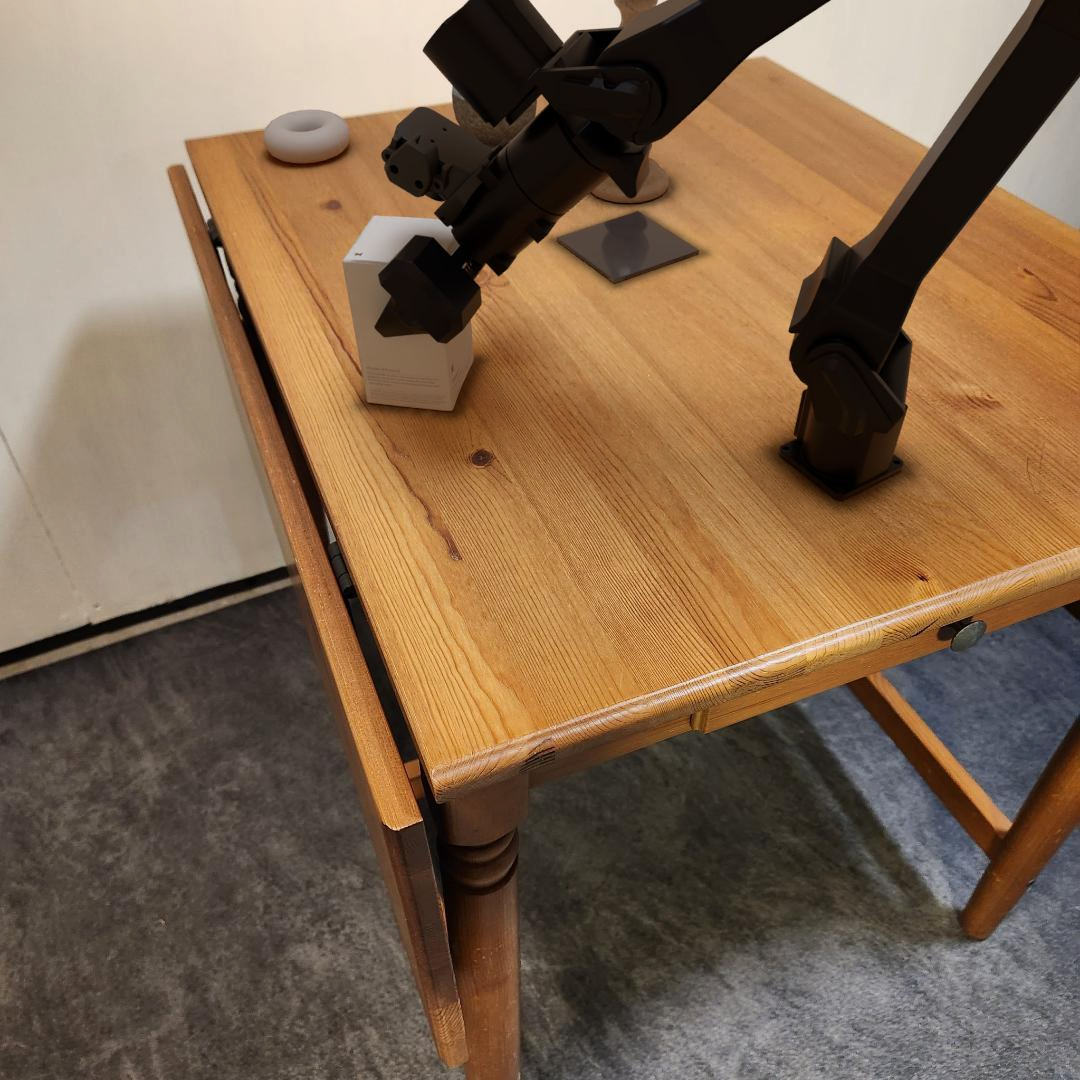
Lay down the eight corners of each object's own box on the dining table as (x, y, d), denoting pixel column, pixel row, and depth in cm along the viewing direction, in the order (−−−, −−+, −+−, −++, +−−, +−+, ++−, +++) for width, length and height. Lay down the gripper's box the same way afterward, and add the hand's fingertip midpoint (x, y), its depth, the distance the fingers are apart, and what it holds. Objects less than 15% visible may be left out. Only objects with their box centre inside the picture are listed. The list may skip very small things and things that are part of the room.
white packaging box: (454, 413, 74) (438, 267, 65) (364, 404, 75) (337, 259, 66) (477, 361, 79) (465, 218, 70) (393, 352, 80) (371, 211, 71)
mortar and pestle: (458, 133, 113) (449, 24, 105) (536, 130, 113) (534, 21, 105) (455, 173, 105) (445, 59, 97) (539, 170, 105) (536, 55, 97)
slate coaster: (698, 253, 91) (699, 249, 91) (614, 283, 88) (614, 279, 87) (637, 214, 97) (638, 210, 97) (556, 241, 94) (556, 237, 93)
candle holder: (601, 209, 98) (607, -8, 84) (576, 174, 104) (578, -34, 90) (680, 197, 100) (699, -18, 85) (651, 164, 106) (664, -43, 91)
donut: (291, 131, 115) (250, 163, 108) (285, 102, 113) (243, 132, 106) (366, 139, 113) (329, 172, 106) (362, 109, 111) (324, 141, 104)
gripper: (504, 29, 65) (381, 167, 76) (387, 134, 53) (260, 281, 63) (610, 156, 69) (479, 271, 79) (524, 282, 56) (382, 398, 67)
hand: (406, 299), depth 72 cm, fingers open, 9 cm apart
